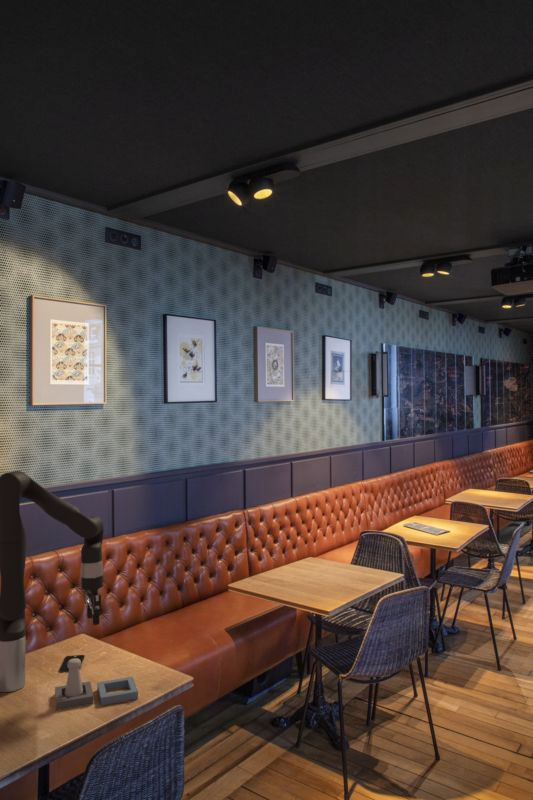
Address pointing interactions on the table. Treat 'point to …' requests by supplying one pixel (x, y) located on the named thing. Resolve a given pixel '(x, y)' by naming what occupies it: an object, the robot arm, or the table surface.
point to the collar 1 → (75, 700)
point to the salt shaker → (74, 679)
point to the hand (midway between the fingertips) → (93, 621)
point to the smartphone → (65, 662)
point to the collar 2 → (118, 696)
